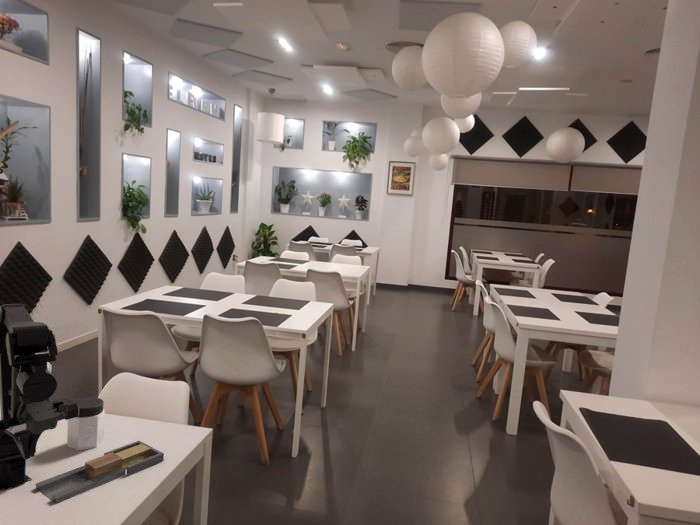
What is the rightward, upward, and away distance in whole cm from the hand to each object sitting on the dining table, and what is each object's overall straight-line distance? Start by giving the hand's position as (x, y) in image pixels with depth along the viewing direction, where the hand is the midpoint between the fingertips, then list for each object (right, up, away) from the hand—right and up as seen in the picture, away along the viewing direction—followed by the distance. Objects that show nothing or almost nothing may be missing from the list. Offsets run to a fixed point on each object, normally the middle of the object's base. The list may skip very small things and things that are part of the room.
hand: (26, 458), depth 104 cm
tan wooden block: (+12, -11, +28) cm, 32 cm away
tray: (+11, -12, +26) cm, 31 cm away
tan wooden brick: (+6, -11, +20) cm, 24 cm away
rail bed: (+3, -12, +15) cm, 20 cm away
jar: (-6, -10, +34) cm, 36 cm away
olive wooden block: (+9, -11, +24) cm, 28 cm away
